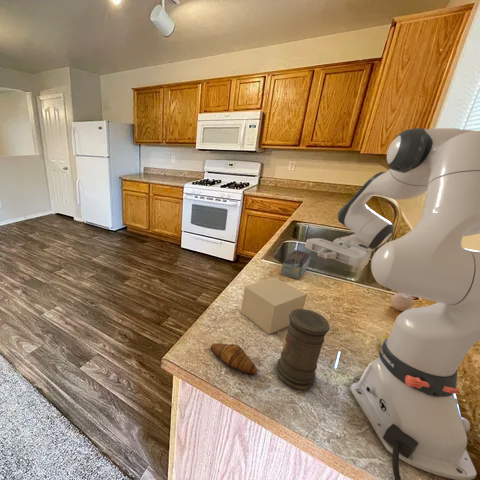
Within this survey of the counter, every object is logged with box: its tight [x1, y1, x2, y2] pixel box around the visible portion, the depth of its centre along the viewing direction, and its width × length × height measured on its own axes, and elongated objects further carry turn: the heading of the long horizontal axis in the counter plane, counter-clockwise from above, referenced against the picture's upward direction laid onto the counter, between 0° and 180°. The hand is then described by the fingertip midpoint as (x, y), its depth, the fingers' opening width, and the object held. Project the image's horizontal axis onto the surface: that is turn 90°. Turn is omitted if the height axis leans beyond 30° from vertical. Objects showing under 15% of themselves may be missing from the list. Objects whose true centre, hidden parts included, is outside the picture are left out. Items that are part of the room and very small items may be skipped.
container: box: [275, 308, 330, 391], centre depth 66 cm, size 9×9×18 cm
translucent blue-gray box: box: [281, 249, 312, 280], centre depth 124 cm, size 8×19×7 cm, turn 140°
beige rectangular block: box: [240, 276, 307, 335], centre depth 90 cm, size 15×13×11 cm
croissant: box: [210, 342, 258, 376], centre depth 72 cm, size 14×7×5 cm, turn 48°
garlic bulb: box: [390, 292, 415, 312], centre depth 95 cm, size 7×6×8 cm
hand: (321, 255), depth 94 cm, fingers closed
